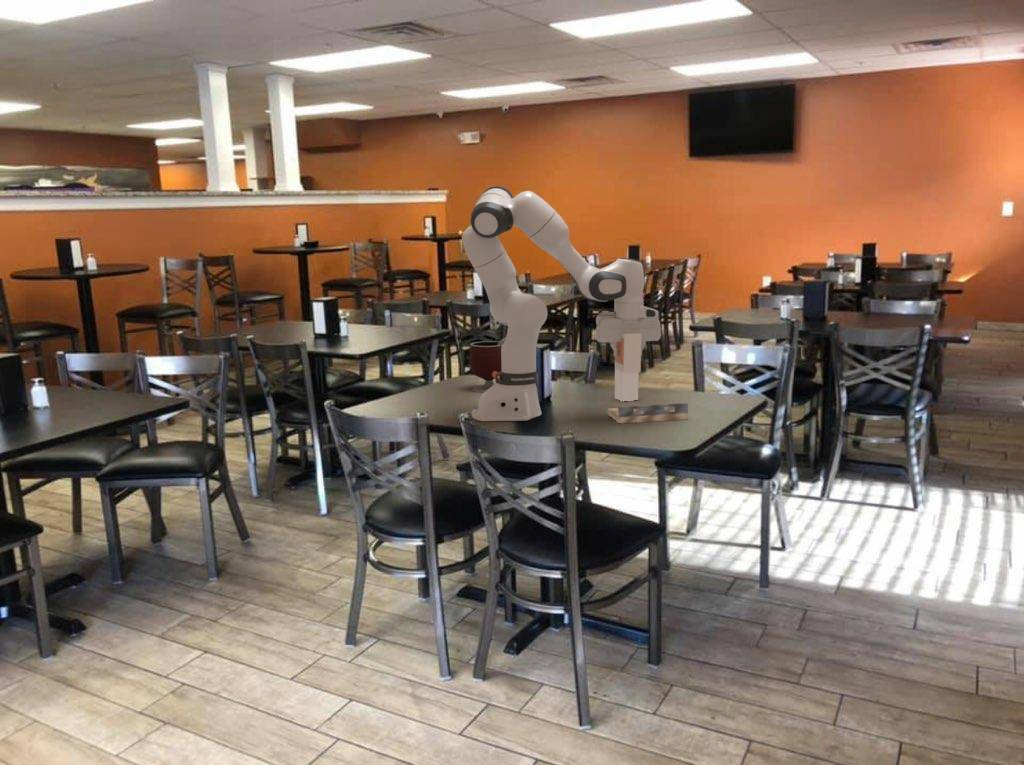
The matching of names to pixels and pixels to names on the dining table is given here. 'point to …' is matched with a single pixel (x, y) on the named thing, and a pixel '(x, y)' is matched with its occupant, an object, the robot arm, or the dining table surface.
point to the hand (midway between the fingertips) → (627, 355)
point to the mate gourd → (485, 362)
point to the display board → (649, 413)
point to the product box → (629, 353)
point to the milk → (626, 386)
